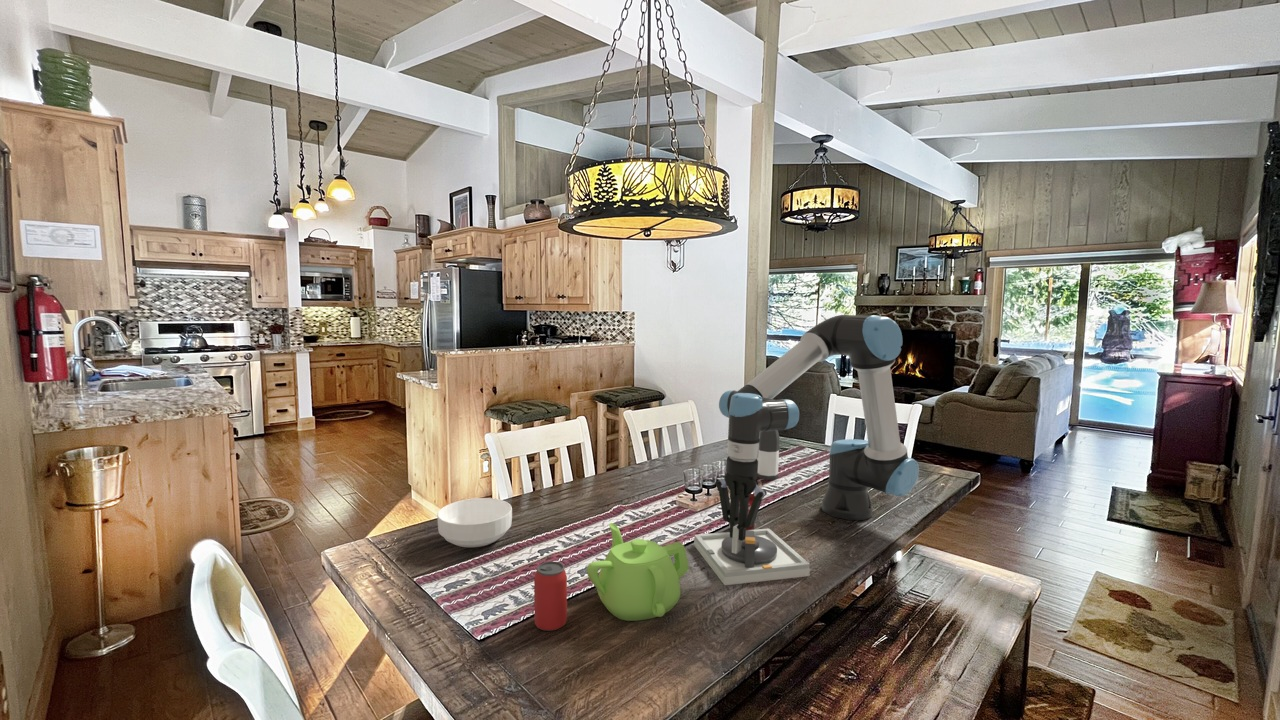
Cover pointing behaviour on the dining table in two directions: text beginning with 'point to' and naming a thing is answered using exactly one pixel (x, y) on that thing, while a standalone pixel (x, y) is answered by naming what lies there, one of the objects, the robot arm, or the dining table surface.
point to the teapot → (639, 577)
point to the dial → (751, 550)
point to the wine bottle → (768, 455)
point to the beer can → (550, 596)
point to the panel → (737, 573)
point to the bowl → (474, 521)
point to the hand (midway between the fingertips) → (736, 551)
